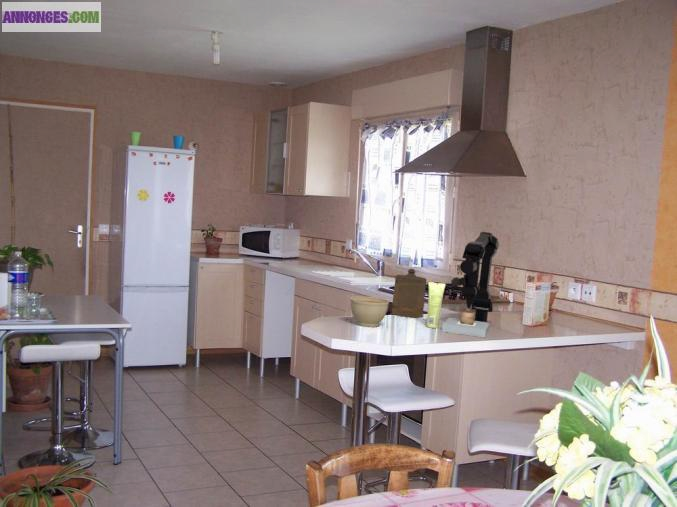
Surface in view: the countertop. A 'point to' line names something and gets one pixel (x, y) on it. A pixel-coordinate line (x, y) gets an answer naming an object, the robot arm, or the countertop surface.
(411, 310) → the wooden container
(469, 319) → the cream rounded piece
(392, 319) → the countertop surface
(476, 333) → the pale blue flat block
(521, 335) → the countertop surface
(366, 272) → the countertop surface
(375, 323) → the planter bowl
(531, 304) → the cracker box
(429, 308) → the tube
